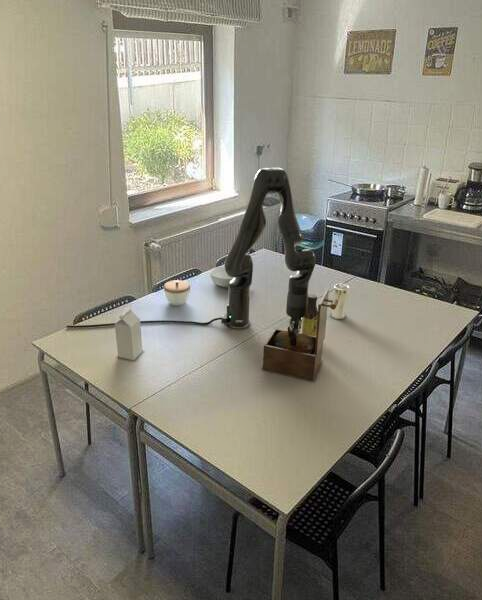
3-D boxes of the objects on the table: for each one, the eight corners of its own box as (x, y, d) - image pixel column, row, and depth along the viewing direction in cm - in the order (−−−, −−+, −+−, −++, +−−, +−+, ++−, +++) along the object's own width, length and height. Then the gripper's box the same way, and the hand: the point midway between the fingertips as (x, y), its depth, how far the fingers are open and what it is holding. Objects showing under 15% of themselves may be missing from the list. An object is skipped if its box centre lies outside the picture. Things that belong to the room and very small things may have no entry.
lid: (318, 304, 167) (333, 306, 165) (326, 288, 179) (341, 290, 177) (314, 355, 176) (329, 358, 174) (322, 336, 188) (336, 339, 186)
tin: (273, 350, 188) (274, 331, 184) (275, 345, 191) (276, 327, 187) (311, 358, 184) (313, 339, 179) (313, 353, 186) (315, 335, 182)
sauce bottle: (315, 342, 205) (319, 300, 196) (300, 341, 206) (304, 298, 197) (316, 335, 211) (320, 293, 202) (301, 333, 212) (305, 292, 203)
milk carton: (142, 351, 197) (139, 309, 189) (133, 360, 191) (130, 317, 183) (127, 348, 199) (123, 306, 191) (118, 357, 193) (113, 314, 185)
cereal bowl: (207, 289, 251) (207, 276, 248) (214, 276, 266) (213, 264, 263) (240, 292, 249) (240, 279, 246) (244, 279, 264) (245, 267, 260)
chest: (262, 369, 187) (263, 345, 182) (273, 351, 199) (274, 328, 194) (313, 381, 181) (315, 356, 176) (321, 361, 192) (323, 337, 188)
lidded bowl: (176, 294, 246) (175, 274, 241) (195, 301, 239) (195, 280, 234) (159, 303, 236) (157, 282, 231) (178, 310, 230) (178, 289, 225)
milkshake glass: (336, 320, 223) (340, 291, 216) (327, 314, 228) (330, 285, 222) (348, 317, 226) (352, 288, 219) (339, 311, 231) (342, 282, 225)
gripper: (292, 293, 185) (289, 332, 192) (281, 308, 173) (279, 350, 181) (311, 296, 182) (308, 336, 190) (302, 312, 171) (299, 354, 178)
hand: (293, 342), depth 185 cm, fingers closed on tin, 2 cm apart
